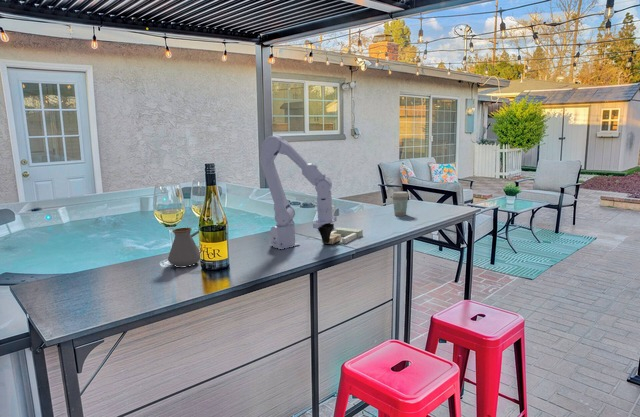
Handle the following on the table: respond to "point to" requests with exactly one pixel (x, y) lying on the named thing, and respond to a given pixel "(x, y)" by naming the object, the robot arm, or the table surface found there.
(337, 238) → the tan block
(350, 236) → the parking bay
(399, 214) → the coffee cup
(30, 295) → the table surface
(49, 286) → the table surface
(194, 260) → the coffee pot
